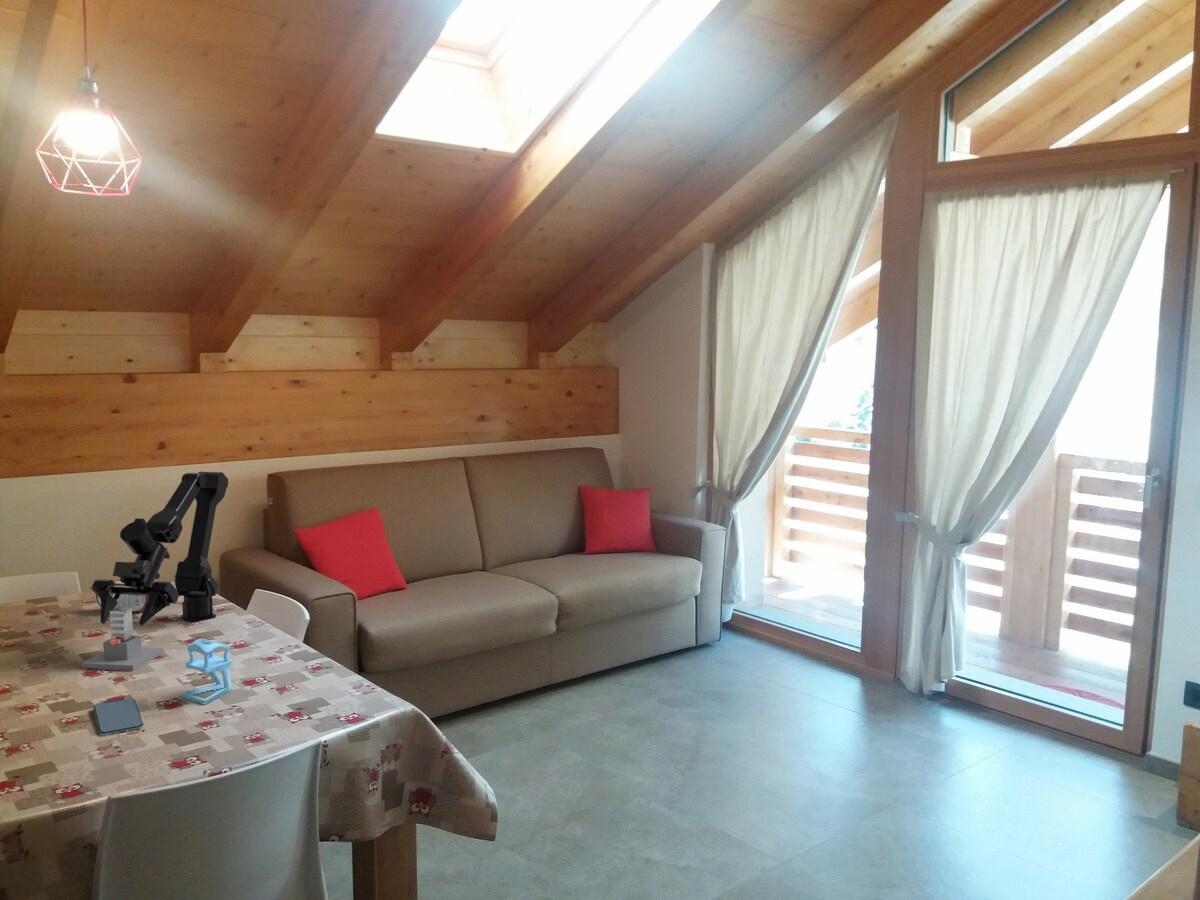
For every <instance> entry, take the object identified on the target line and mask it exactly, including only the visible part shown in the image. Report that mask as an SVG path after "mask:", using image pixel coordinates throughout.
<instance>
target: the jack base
mask: <svg viewBox="0 0 1200 900" xmlns="http://www.w3.org/2000/svg"><path fill="white" fill-rule="evenodd" d="M142 645H143V644H142V635H133V639H131V640H129V641H127V642H121V639H111V638H109V639H107V640H105V641H104V642H103V643H102V646H103V651H102V652H100V653H98V654H96V655H93V656H92V657H89V658H88V659H86V660H84V661H82V663H81V669H87V668H92V669H91V670H111V671H126V672H127V671H131V672H132V671H136V670H137V669H138V668H140V667H142V666H143V665H145V664H147V663H148V662H151V661H152V660H154V659H155V658H156V657H158V656H160V655H162V654H163V653H164V650H163V649H164V648H163V647H156V646H155V647H152V646H142Z"/></svg>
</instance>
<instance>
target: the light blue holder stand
mask: <svg viewBox="0 0 1200 900" xmlns="http://www.w3.org/2000/svg"><path fill="white" fill-rule="evenodd" d="M186 648H187V649H186V650H187V652H188V653H189V661H188V662H185V668H187V669H192V670H196V671H199V672H200V673H203V674H208V673H209V675H210V677H211V678H212V680H213V682H215V684H213V685H208V686H204V687H198V688H194V689H190V690H186V691H182V692H181V698H182V697H183V699H186V698H187V700H189V699H190V700H189V701H192V700H194V701H193V702H195V701H197V702H196V703H198V702H200V703H199V704H201V703H208V702H210V701H212V700H213V701H215V700H216V698H217V697H218V698H220V697H221V695H222V696H223V695H225V694H226V692H227V693H229V692H230V690H231V691H232V685H231V684H232V683H231V677H230V668H231V666H232V665H233V660H232V659H229V650H230V649H231V644H230V643H229V644H224V643H220V642H215V640H214V639H209V640H208V639H205V638H198V639H196V640H194V641H192V642H191V643H190V644H189V645H187V647H186ZM220 649H221V650H225V651H224V653H223V657H220V656H217V655H216V654H215V655H214V653H215V651H216V650H220ZM193 652H195V653H199V654H201V655H203V656H204V657H201V658H199V659H195V655H194V653H193ZM217 672H220V674H221V676H222V679H221V678H220V676H219V674H218V673H217ZM222 680H223V681H222ZM223 687H224V688H223ZM221 688H222V689H221ZM216 689H218V690H216ZM210 690H214V691H215V692H214V693H213V694H211V695H210V696H208V697H206V698H203V697H200V696H198V694H197V693H199V694H202V693H201V692H204V693H207V692H206V691H209V692H211V691H210ZM228 691H229V692H228ZM224 693H225V694H224ZM193 694H194V695H193ZM219 696H220V697H219ZM218 698H217V699H218ZM214 699H215V700H214ZM213 701H212V702H213ZM210 703H211V702H210ZM208 704H209V703H208Z"/></svg>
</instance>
